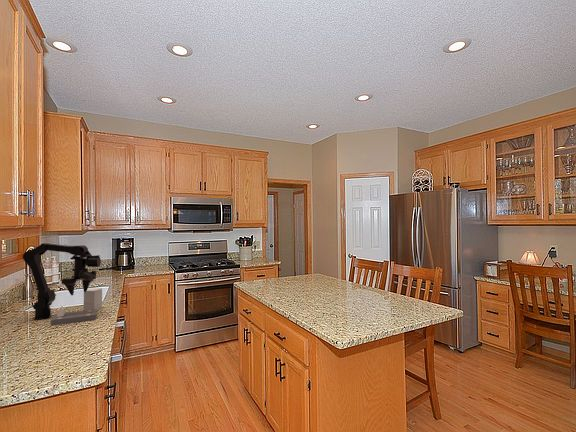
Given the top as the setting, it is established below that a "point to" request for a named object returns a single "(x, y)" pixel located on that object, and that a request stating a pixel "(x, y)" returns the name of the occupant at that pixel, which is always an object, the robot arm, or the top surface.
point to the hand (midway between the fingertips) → (78, 293)
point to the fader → (61, 311)
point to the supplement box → (93, 299)
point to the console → (74, 317)
